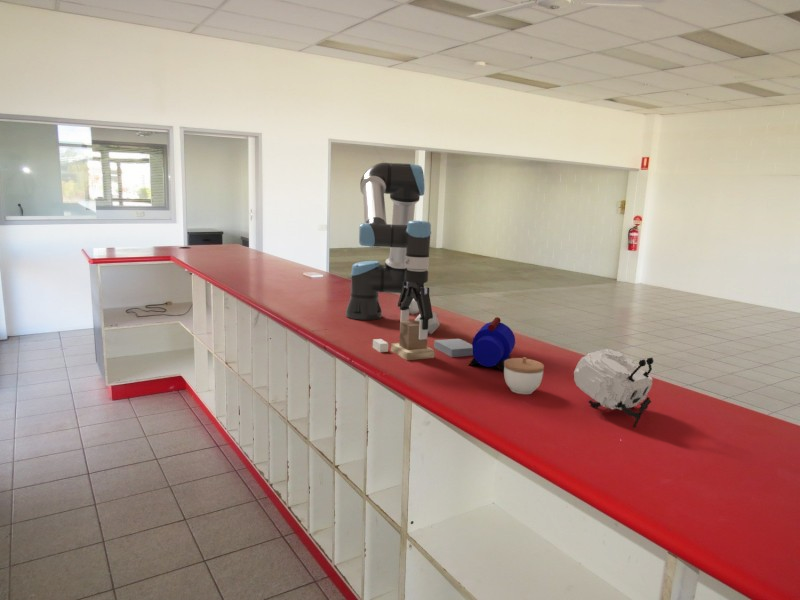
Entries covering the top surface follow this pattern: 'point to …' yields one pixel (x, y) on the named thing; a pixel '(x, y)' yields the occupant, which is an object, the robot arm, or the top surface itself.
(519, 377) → the lidded jar
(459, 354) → the grey slab
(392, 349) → the oak slab
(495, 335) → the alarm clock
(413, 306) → the white rounded figure
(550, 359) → the top surface
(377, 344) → the white brick
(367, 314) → the robot arm
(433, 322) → the die
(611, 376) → the robot
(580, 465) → the top surface
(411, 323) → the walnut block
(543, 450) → the top surface
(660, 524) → the top surface
